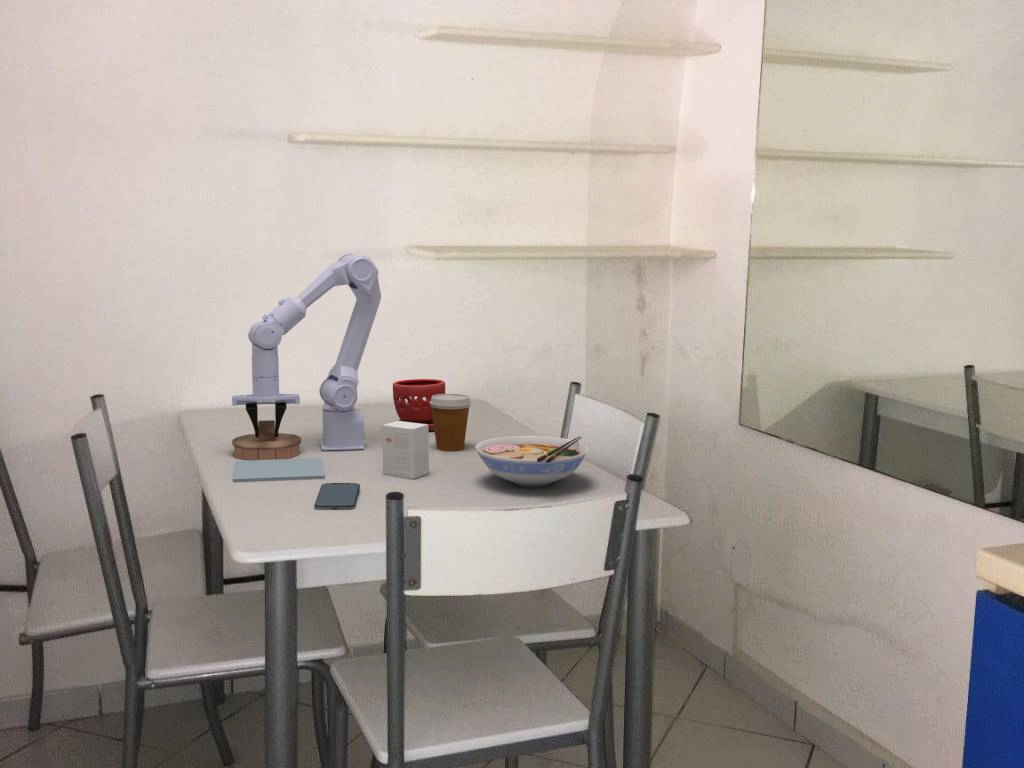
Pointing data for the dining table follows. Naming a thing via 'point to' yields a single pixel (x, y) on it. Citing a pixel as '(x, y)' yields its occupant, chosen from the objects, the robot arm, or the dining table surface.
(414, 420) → the plant pot
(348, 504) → the smartphone
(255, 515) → the dining table surface
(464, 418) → the disposable coffee cup
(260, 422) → the lid
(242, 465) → the mat
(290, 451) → the dish
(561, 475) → the ramen bowl
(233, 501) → the dining table surface
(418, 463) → the small box
